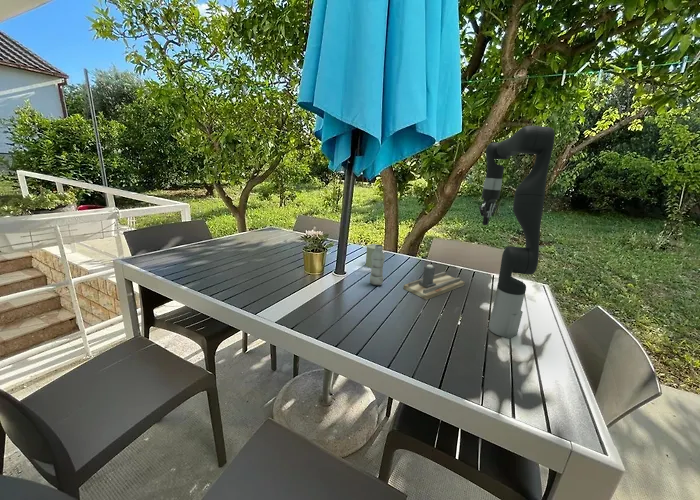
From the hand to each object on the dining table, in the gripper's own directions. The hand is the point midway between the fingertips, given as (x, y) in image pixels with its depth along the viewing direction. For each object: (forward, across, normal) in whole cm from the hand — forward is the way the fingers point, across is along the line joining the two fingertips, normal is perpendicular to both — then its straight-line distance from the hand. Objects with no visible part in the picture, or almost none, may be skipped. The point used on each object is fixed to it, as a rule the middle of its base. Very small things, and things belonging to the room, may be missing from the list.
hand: (485, 224), depth 150 cm
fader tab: (+30, -25, +10) cm, 40 cm away
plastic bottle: (+32, -42, +28) cm, 60 cm away
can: (+32, -25, +49) cm, 64 cm away
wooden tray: (+32, -19, +10) cm, 39 cm away
